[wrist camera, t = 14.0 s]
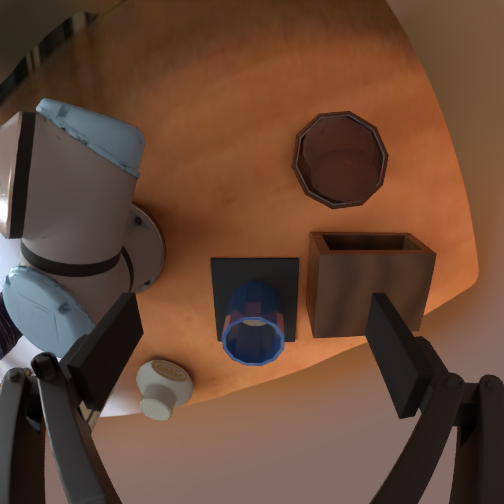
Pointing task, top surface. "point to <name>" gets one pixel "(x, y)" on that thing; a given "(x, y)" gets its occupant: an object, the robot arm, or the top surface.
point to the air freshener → (162, 388)
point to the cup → (254, 325)
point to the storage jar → (7, 330)
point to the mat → (256, 270)
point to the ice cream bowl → (339, 159)
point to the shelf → (365, 279)
